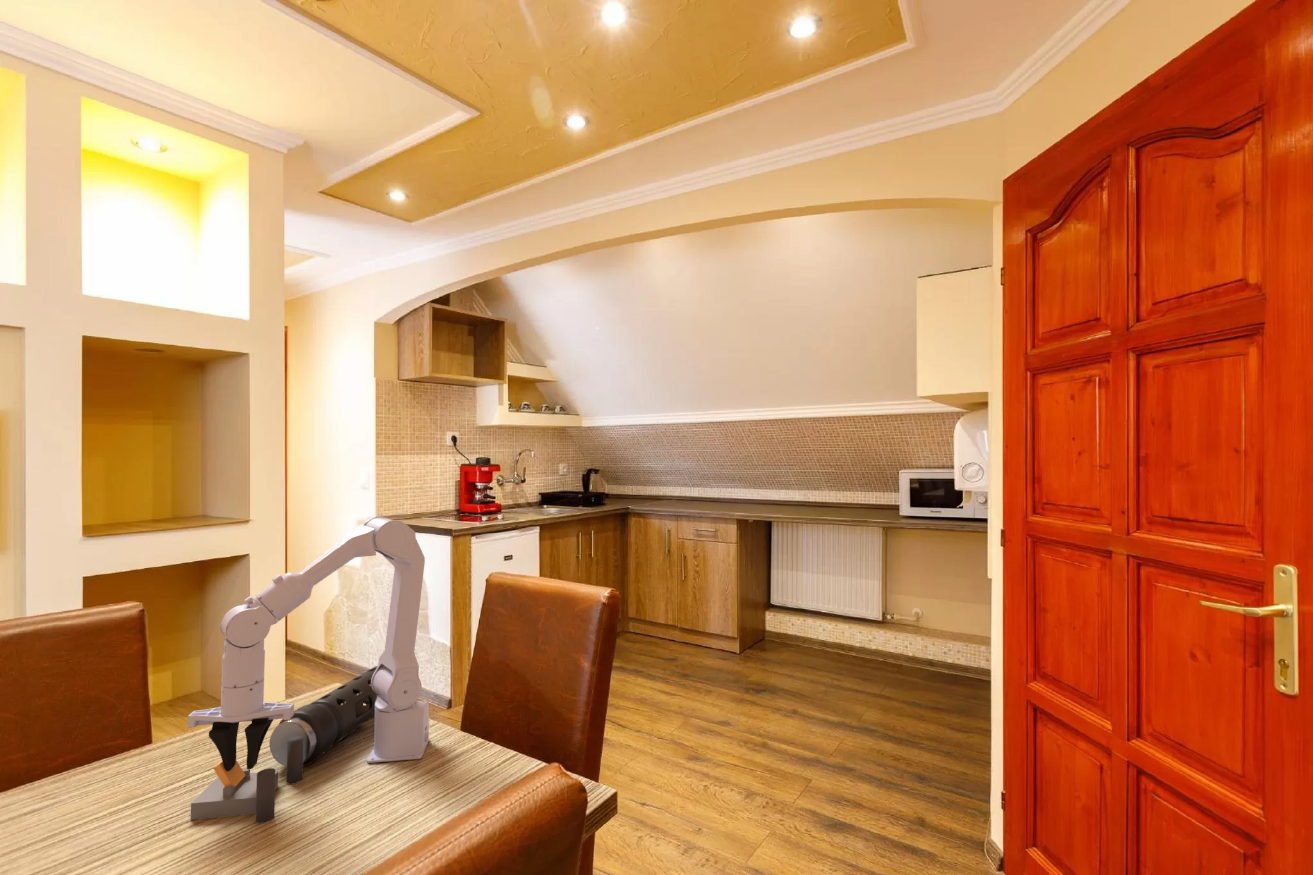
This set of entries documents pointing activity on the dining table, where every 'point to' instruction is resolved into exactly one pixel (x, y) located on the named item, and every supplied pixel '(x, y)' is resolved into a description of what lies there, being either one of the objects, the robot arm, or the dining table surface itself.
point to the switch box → (228, 798)
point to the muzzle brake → (326, 719)
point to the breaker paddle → (229, 774)
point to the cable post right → (294, 759)
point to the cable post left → (265, 795)
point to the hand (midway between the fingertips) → (240, 767)
